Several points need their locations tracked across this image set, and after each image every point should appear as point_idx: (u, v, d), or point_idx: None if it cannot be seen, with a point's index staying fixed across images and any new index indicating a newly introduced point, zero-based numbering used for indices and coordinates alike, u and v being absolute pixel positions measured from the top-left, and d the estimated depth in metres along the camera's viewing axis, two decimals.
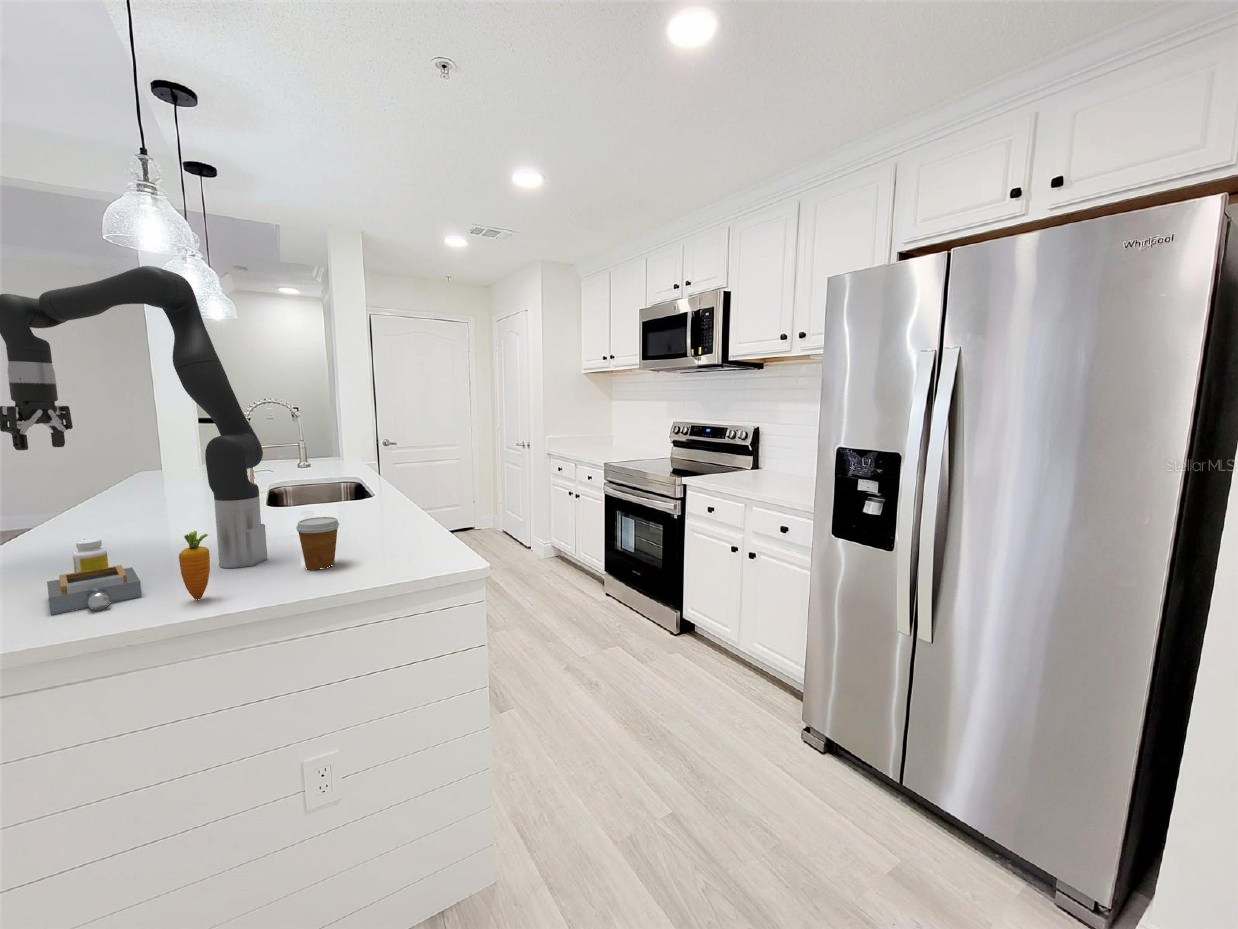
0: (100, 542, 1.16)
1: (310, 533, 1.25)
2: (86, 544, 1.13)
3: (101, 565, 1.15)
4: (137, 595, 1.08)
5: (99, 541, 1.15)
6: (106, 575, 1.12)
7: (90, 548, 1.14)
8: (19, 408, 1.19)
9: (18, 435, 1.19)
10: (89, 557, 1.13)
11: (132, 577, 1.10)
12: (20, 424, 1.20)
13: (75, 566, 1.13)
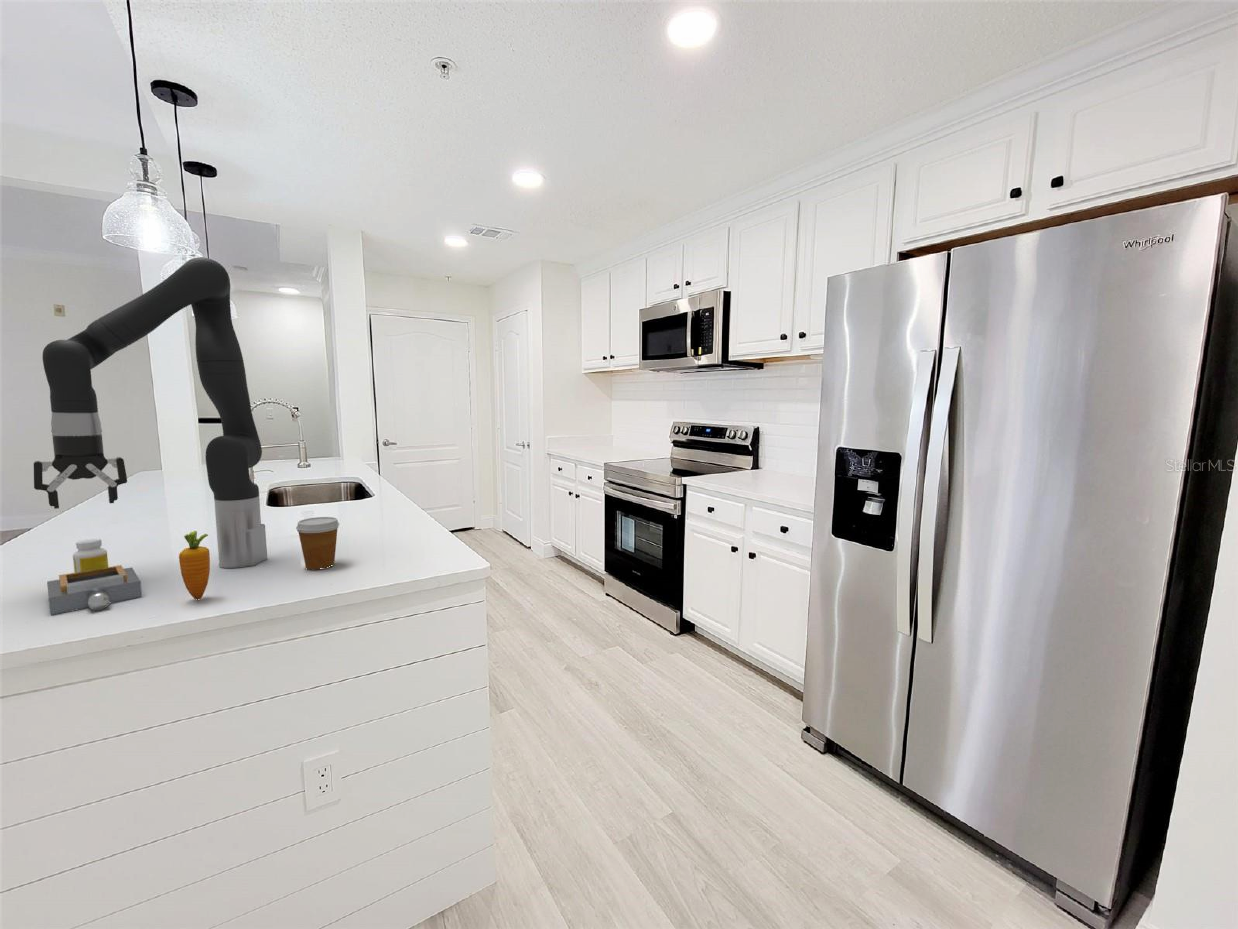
0: (100, 542, 1.16)
1: (310, 533, 1.25)
2: (86, 544, 1.13)
3: (101, 565, 1.15)
4: (137, 595, 1.08)
5: (99, 541, 1.15)
6: (106, 575, 1.12)
7: (90, 548, 1.14)
8: None
9: None
10: (89, 557, 1.13)
11: (132, 577, 1.10)
12: None
13: (75, 566, 1.13)
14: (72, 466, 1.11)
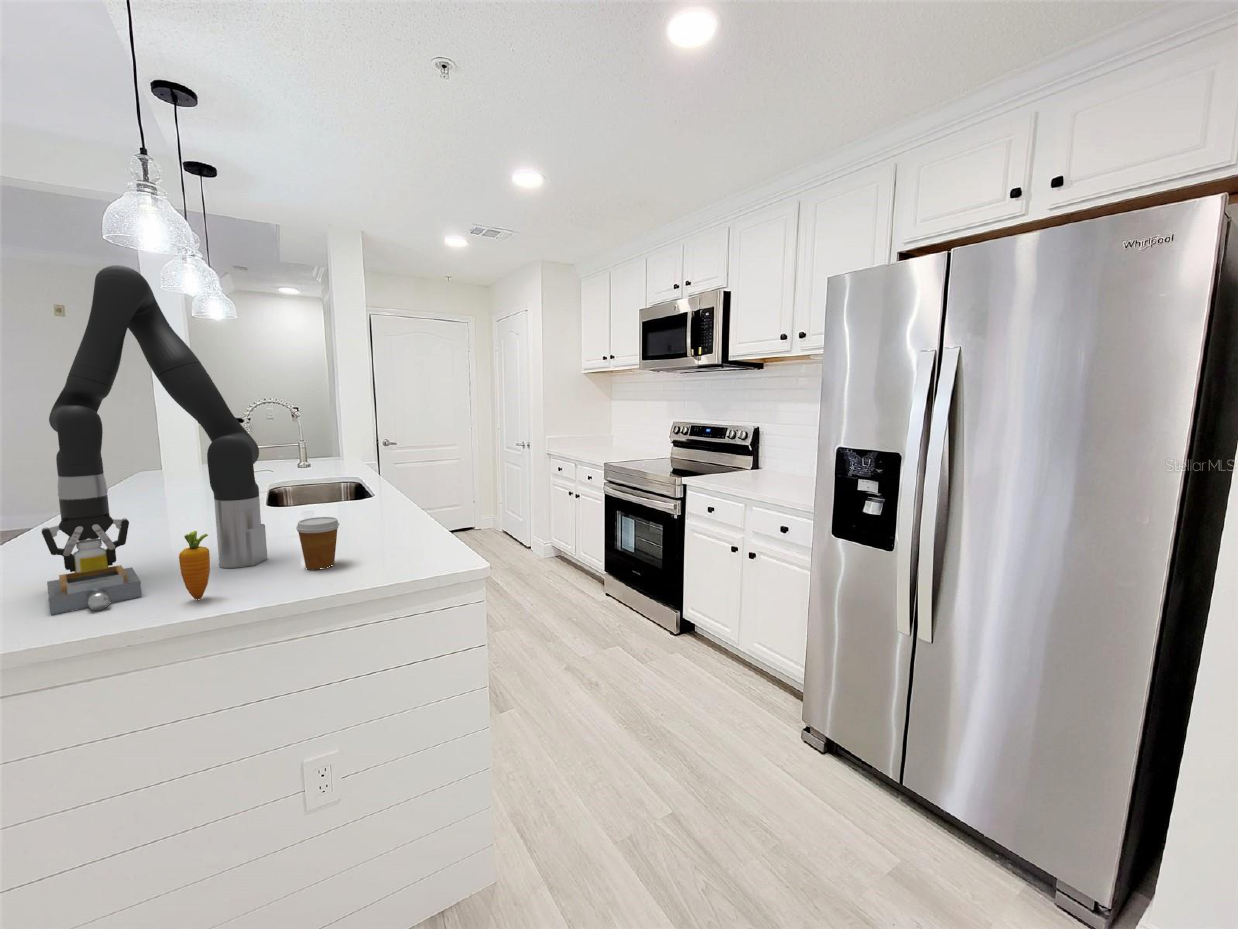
0: (100, 542, 1.16)
1: (310, 533, 1.25)
2: (86, 544, 1.13)
3: (101, 565, 1.15)
4: (137, 595, 1.08)
5: (99, 541, 1.15)
6: (106, 575, 1.12)
7: (90, 548, 1.14)
8: None
9: None
10: (89, 557, 1.13)
11: (132, 577, 1.10)
12: None
13: (75, 566, 1.13)
14: (78, 528, 1.12)
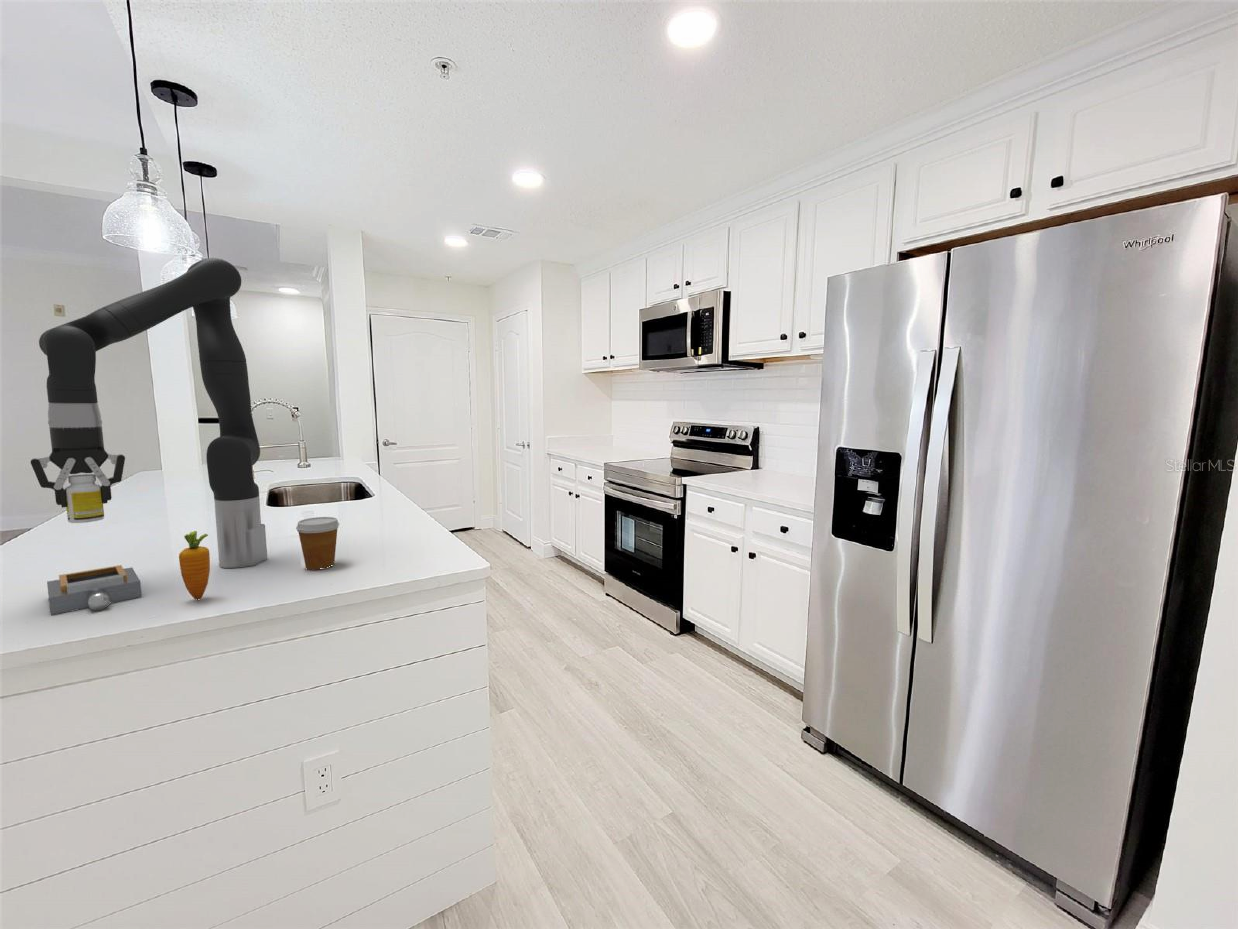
0: (94, 477, 1.08)
1: (310, 533, 1.25)
2: (79, 478, 1.06)
3: (94, 502, 1.07)
4: (137, 595, 1.08)
5: (93, 476, 1.08)
6: (106, 575, 1.12)
7: (83, 482, 1.06)
8: None
9: None
10: (82, 492, 1.05)
11: (132, 577, 1.10)
12: None
13: (67, 501, 1.05)
14: (70, 460, 1.04)
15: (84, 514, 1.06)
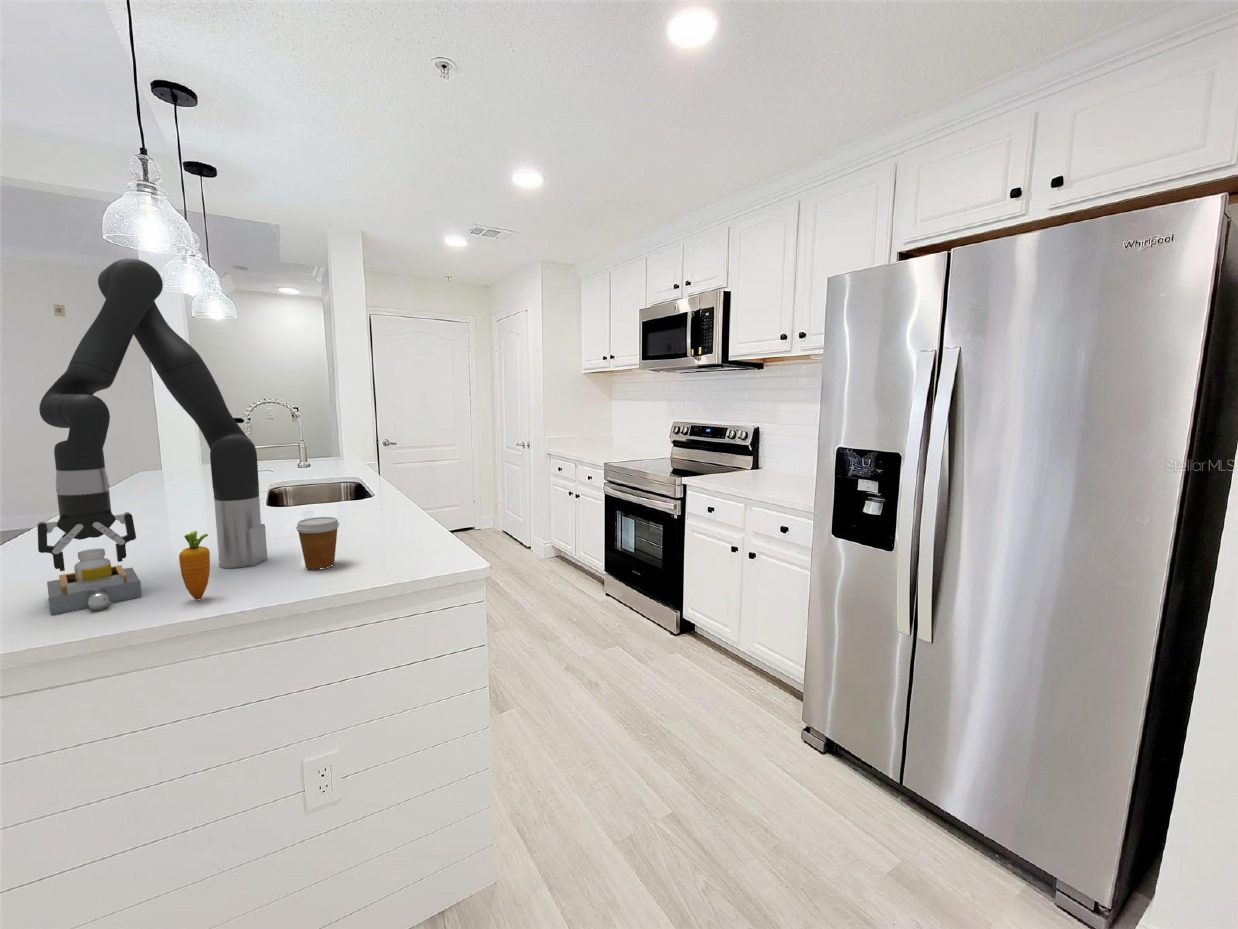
0: (103, 552, 1.09)
1: (310, 533, 1.25)
2: (88, 554, 1.06)
3: None
4: (137, 595, 1.08)
5: (102, 551, 1.08)
6: None
7: (93, 559, 1.07)
8: None
9: None
10: (92, 569, 1.06)
11: (132, 577, 1.10)
12: None
13: (77, 578, 1.06)
14: (78, 526, 1.04)
15: None
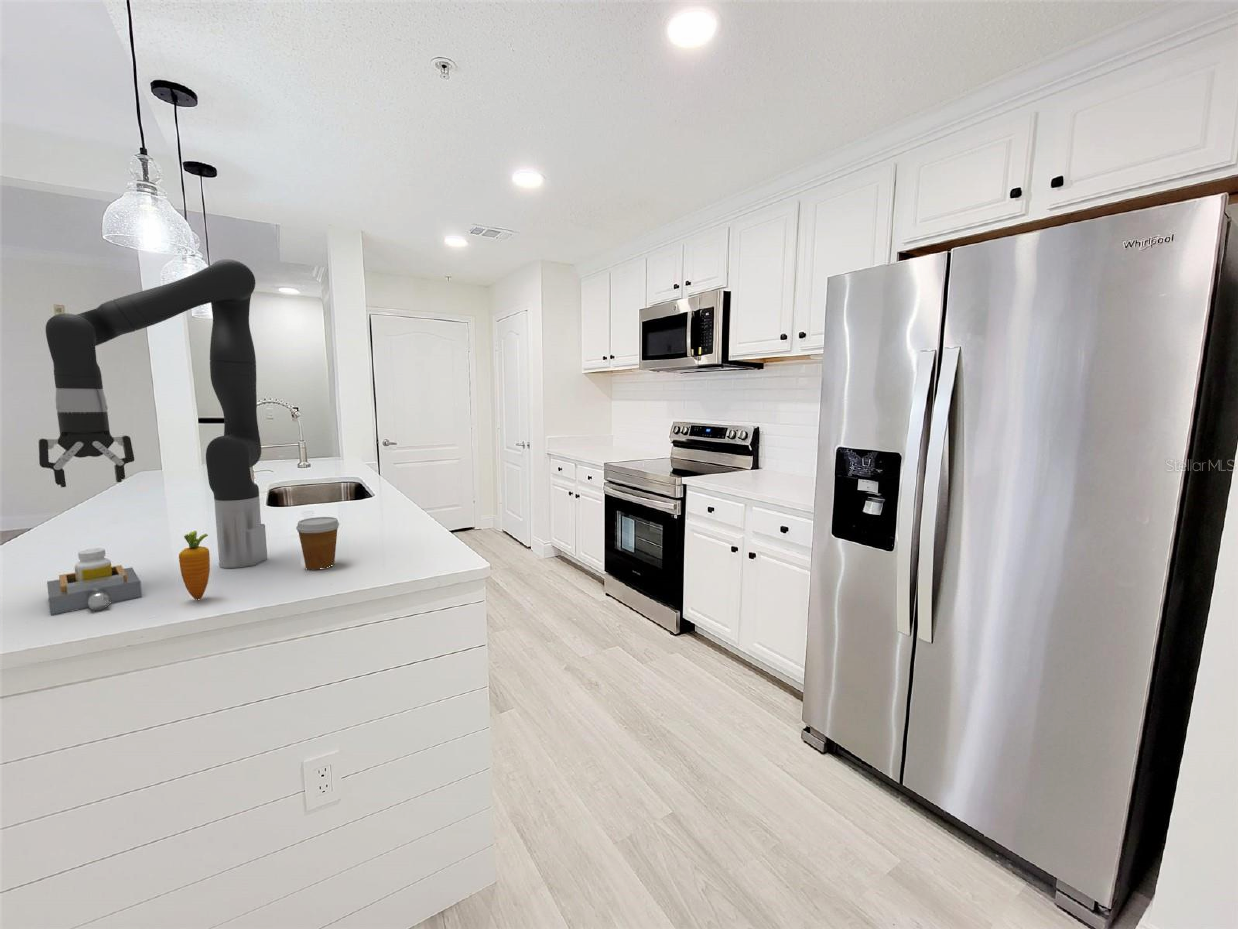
0: (104, 552, 1.09)
1: (310, 533, 1.25)
2: (89, 554, 1.06)
3: None
4: (137, 595, 1.08)
5: (103, 551, 1.08)
6: None
7: (93, 559, 1.07)
8: None
9: None
10: (92, 569, 1.06)
11: (132, 577, 1.10)
12: None
13: (77, 578, 1.06)
14: (78, 443, 1.08)
15: None
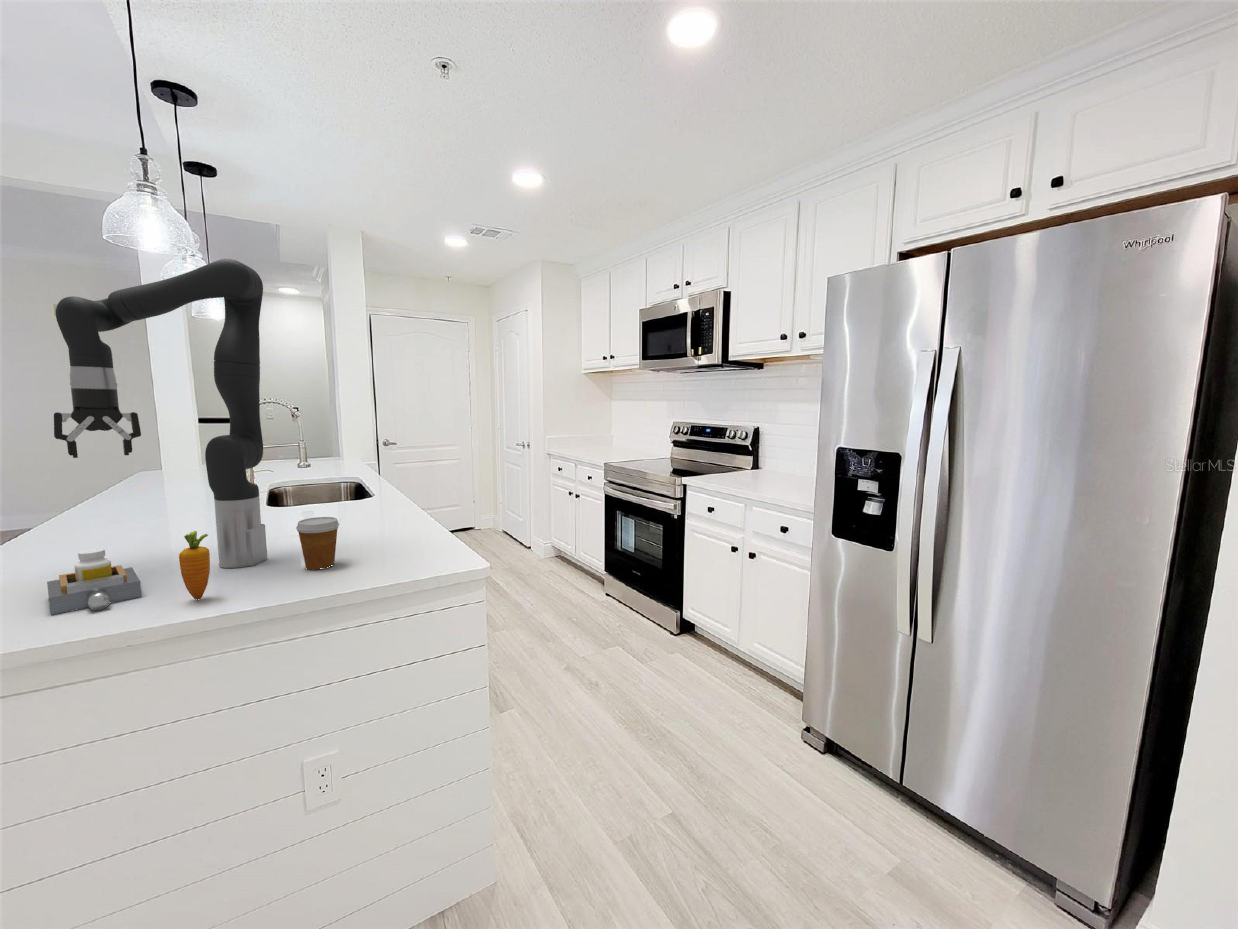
0: (104, 552, 1.09)
1: (310, 533, 1.25)
2: (89, 554, 1.06)
3: None
4: (137, 595, 1.08)
5: (102, 551, 1.08)
6: None
7: (93, 559, 1.07)
8: None
9: None
10: (92, 569, 1.06)
11: (132, 577, 1.10)
12: None
13: (77, 578, 1.06)
14: (90, 418, 1.17)
15: None
